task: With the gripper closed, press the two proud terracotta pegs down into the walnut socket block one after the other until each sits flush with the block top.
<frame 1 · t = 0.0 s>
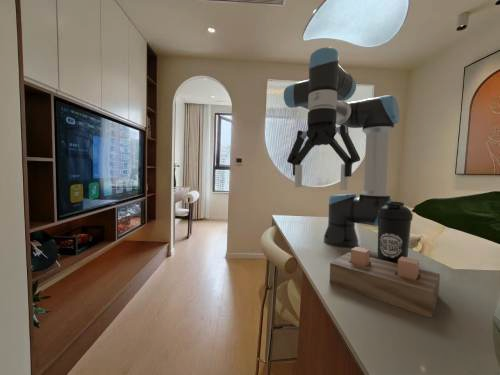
hand: (319, 188, 65), 28 cm above the table, fingers open, 13 cm apart
water bottle: (391, 269, 81), on the table
peg 2: (407, 270, 62), point 7 cm above the table, slide at 4.0 cm
peg 1: (360, 259, 70), point 7 cm above the table, slide at 4.0 cm
socket block: (381, 289, 66), on the table
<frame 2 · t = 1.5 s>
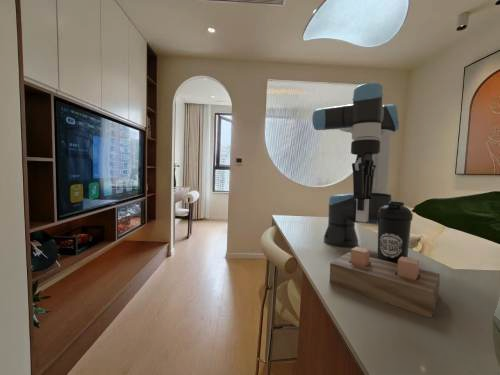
hand: (361, 221, 70), 18 cm above the table, fingers closed
nothing on the table moved.
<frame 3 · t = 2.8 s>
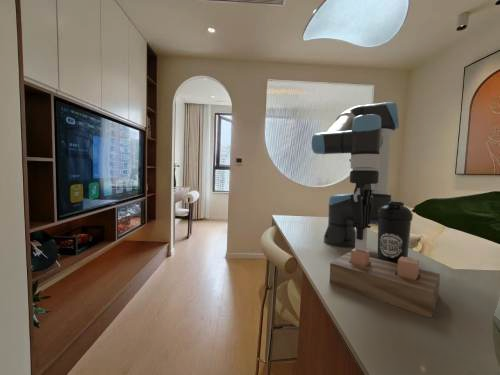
hand: (360, 249, 70), 10 cm above the table, fingers closed
peg 1: (360, 260, 70), point 7 cm above the table, slide at 3.7 cm, touching gripper
everything else where it was.
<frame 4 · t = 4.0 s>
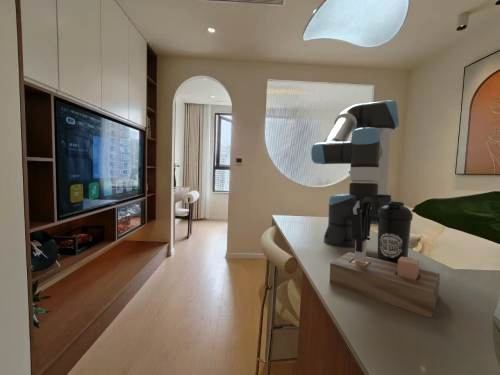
hand: (360, 261, 70), 6 cm above the table, fingers closed
peg 1: (359, 271, 70), point 3 cm above the table, slide at 0.1 cm, touching gripper
everything else where it was.
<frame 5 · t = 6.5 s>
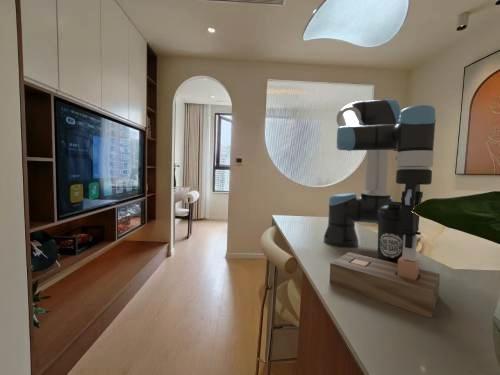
hand: (408, 259, 62), 10 cm above the table, fingers closed
peg 2: (407, 270, 62), point 7 cm above the table, slide at 4.0 cm, touching gripper
peg 1: (359, 271, 70), point 3 cm above the table, slide at 0.1 cm
everything else where it was.
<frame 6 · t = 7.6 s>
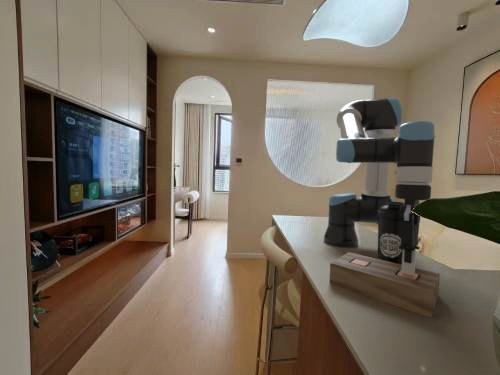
hand: (407, 273, 62), 6 cm above the table, fingers closed
peg 2: (407, 285, 62), point 3 cm above the table, slide at 0.2 cm, touching gripper
everything else where it was.
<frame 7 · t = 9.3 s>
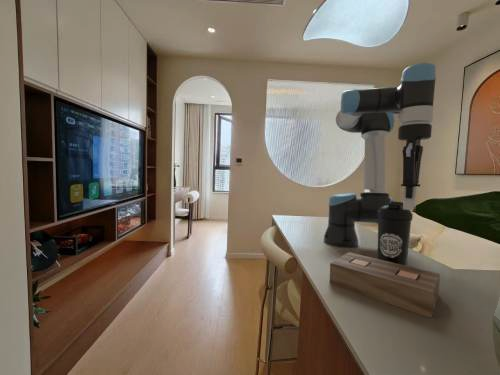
hand: (409, 209, 67), 22 cm above the table, fingers closed
peg 2: (407, 285, 62), point 3 cm above the table, slide at 0.1 cm
everything else where it was.
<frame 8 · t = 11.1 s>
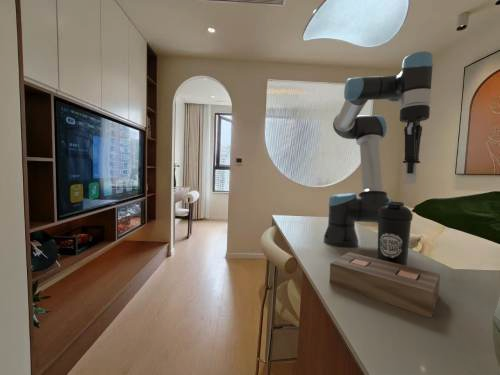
hand: (410, 184, 74), 29 cm above the table, fingers closed
nothing on the table moved.
at the end: peg 1 slide at 0.1 cm; peg 2 slide at 0.1 cm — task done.
